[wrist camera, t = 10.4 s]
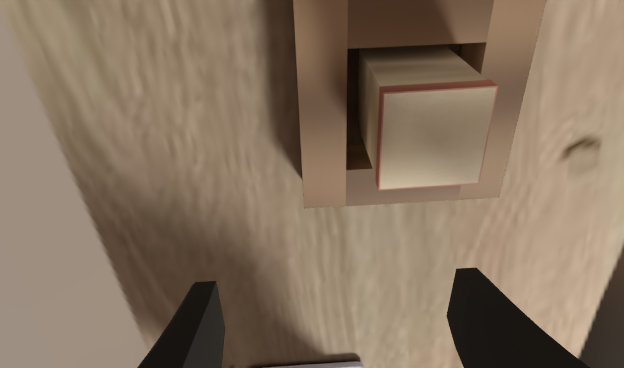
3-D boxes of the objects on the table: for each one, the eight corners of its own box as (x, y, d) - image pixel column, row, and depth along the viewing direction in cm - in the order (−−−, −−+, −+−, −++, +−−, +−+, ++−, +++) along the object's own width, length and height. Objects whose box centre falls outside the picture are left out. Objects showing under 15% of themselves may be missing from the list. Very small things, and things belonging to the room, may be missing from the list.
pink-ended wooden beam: (435, 122, 20) (479, 183, 16) (357, 127, 20) (378, 190, 16) (444, 42, 18) (498, 85, 14) (358, 47, 18) (382, 92, 14)
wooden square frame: (479, 171, 22) (499, 197, 20) (302, 180, 22) (304, 208, 20) (518, -25, 17) (550, -16, 15) (292, -15, 17) (293, -5, 15)
